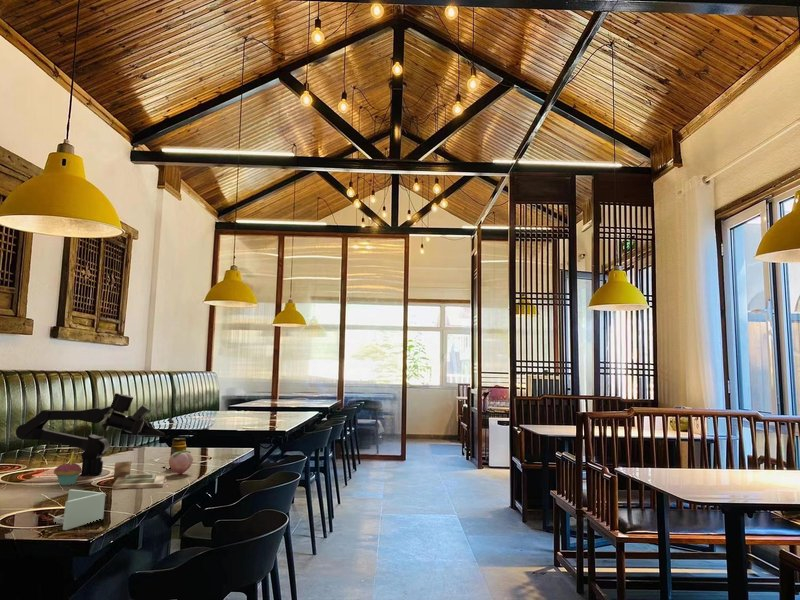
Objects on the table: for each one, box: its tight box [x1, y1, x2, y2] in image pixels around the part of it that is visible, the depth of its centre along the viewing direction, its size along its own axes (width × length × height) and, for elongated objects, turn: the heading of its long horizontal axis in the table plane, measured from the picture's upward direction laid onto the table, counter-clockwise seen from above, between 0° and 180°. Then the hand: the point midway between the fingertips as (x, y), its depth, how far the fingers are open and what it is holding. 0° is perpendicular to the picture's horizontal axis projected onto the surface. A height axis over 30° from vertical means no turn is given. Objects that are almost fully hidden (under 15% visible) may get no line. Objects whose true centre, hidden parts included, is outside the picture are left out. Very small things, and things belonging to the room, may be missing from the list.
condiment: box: [162, 437, 187, 468], centre depth 237 cm, size 7×8×12 cm
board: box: [111, 473, 166, 490], centre depth 202 cm, size 16×16×2 cm
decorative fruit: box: [168, 449, 194, 475], centre depth 221 cm, size 9×8×10 cm
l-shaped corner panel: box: [52, 489, 106, 531], centre depth 150 cm, size 12×12×8 cm
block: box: [113, 460, 132, 481], centre depth 210 cm, size 5×5×6 cm
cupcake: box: [53, 449, 82, 486], centre depth 199 cm, size 9×8×12 cm
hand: (162, 434), depth 223 cm, fingers open, 9 cm apart
